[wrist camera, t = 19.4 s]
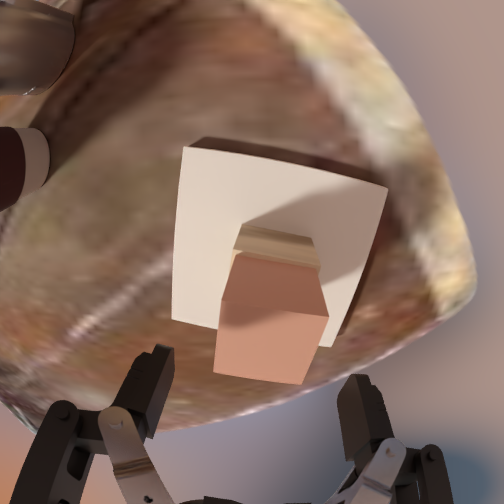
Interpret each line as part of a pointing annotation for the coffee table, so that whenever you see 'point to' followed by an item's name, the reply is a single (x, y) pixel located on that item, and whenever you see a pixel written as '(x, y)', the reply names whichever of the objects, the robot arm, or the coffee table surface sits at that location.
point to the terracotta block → (269, 321)
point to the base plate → (267, 226)
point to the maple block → (275, 247)
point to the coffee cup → (21, 163)
